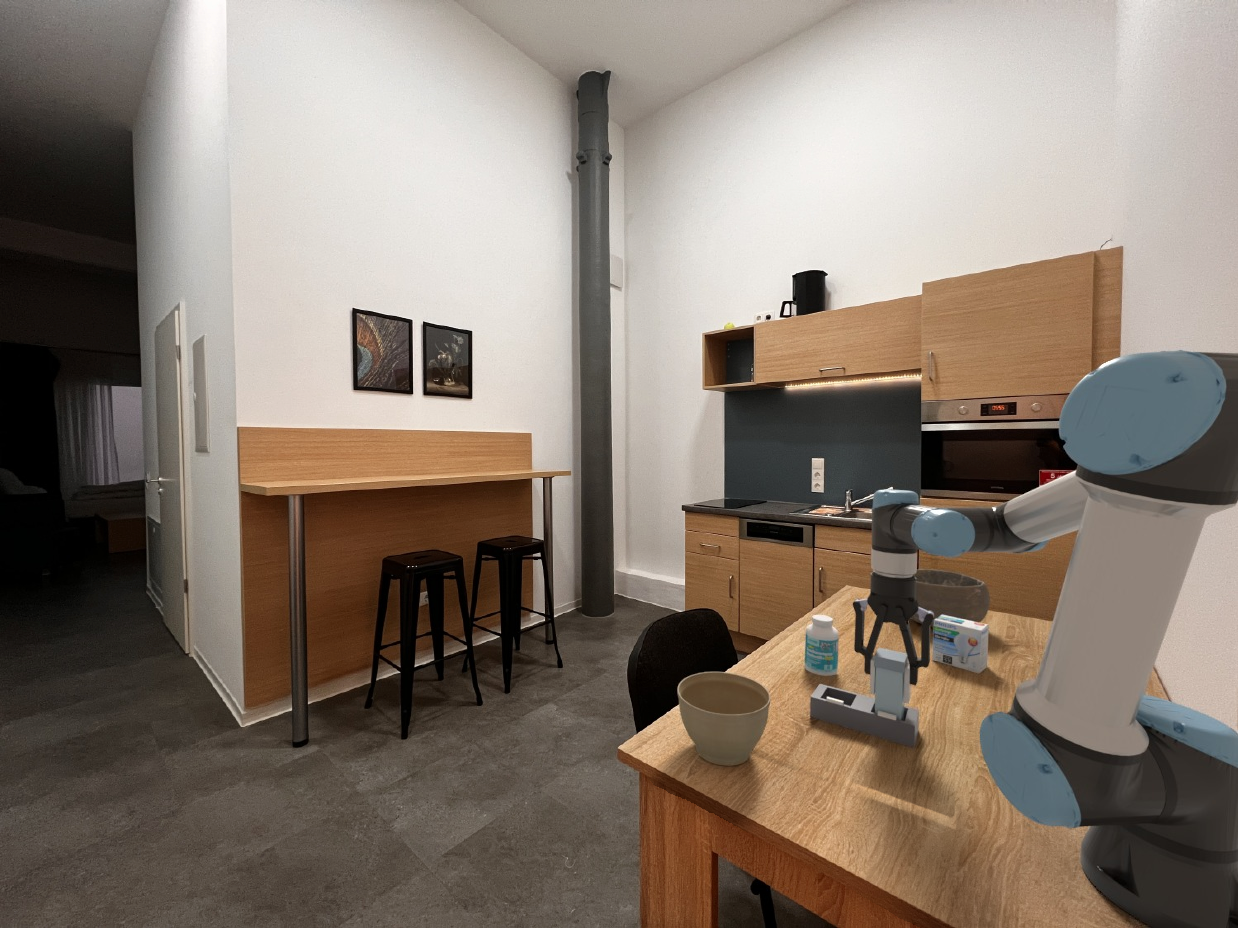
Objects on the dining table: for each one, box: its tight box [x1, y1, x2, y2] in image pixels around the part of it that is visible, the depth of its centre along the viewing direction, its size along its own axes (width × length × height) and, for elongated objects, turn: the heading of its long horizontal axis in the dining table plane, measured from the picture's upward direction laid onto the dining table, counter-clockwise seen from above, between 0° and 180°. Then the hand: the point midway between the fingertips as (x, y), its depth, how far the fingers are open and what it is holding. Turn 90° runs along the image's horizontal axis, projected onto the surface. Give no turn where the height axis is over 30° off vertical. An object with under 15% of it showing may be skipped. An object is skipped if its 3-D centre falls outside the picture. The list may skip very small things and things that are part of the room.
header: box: [809, 683, 920, 749], centre depth 100 cm, size 7×18×6 cm, turn 55°
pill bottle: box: [804, 614, 840, 677], centre depth 124 cm, size 8×7×14 cm
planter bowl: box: [676, 671, 771, 767], centre depth 92 cm, size 16×16×11 cm
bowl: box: [910, 568, 991, 628], centre depth 159 cm, size 24×24×15 cm
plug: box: [873, 647, 909, 721], centre depth 97 cm, size 5×5×13 cm
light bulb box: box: [931, 615, 990, 674], centre depth 130 cm, size 11×7×11 cm, turn 42°
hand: (890, 695), depth 97 cm, fingers closed on plug, 5 cm apart
